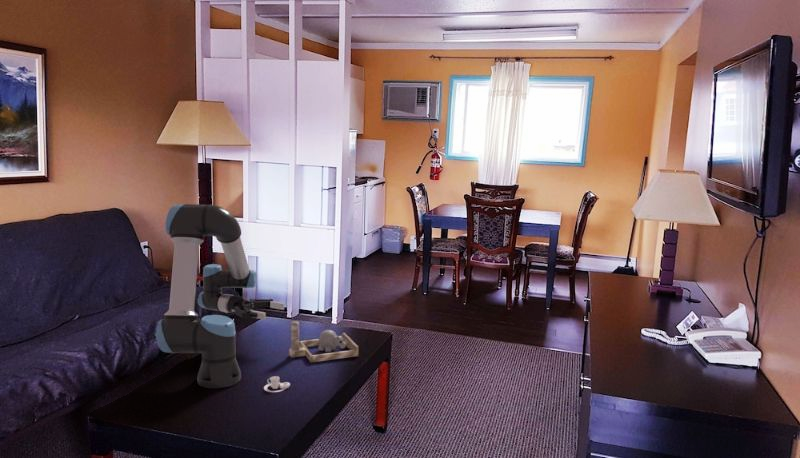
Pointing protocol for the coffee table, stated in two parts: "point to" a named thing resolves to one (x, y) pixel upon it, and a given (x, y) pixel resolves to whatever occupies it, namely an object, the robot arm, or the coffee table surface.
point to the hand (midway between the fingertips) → (274, 311)
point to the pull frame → (303, 345)
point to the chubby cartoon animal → (330, 341)
